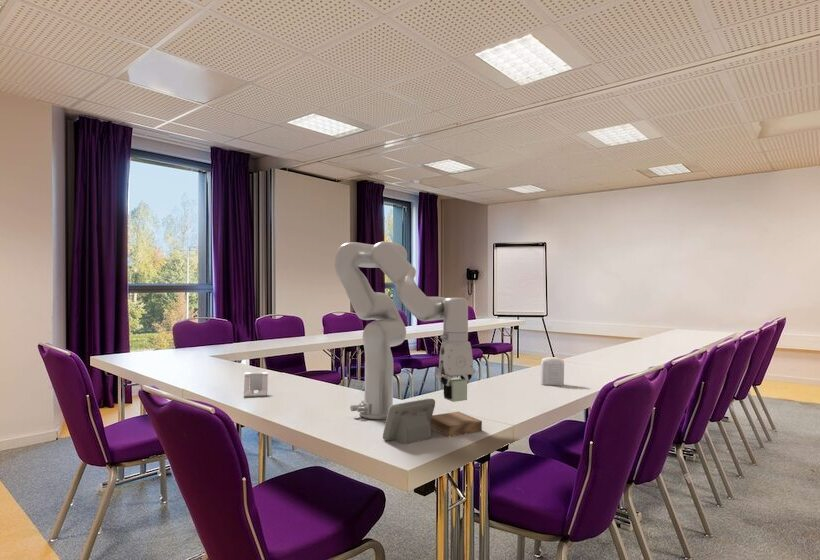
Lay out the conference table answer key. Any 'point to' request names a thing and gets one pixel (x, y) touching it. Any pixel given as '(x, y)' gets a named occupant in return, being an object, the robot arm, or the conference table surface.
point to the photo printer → (552, 371)
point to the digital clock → (409, 421)
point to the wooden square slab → (455, 423)
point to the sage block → (458, 389)
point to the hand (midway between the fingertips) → (455, 396)
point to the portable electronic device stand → (256, 384)
